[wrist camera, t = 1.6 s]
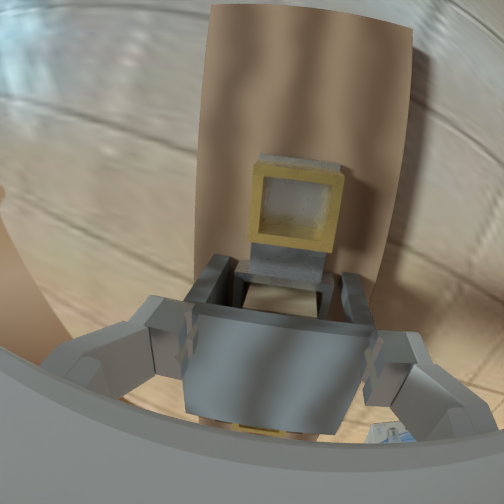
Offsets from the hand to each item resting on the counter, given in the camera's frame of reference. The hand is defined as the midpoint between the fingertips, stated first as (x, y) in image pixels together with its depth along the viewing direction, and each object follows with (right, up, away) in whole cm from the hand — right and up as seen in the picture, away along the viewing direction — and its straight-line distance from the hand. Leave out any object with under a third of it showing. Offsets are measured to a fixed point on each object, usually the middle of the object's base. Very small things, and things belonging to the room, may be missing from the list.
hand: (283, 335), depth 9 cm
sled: (+2, -4, +22) cm, 23 cm away
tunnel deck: (+3, 0, +25) cm, 25 cm away
